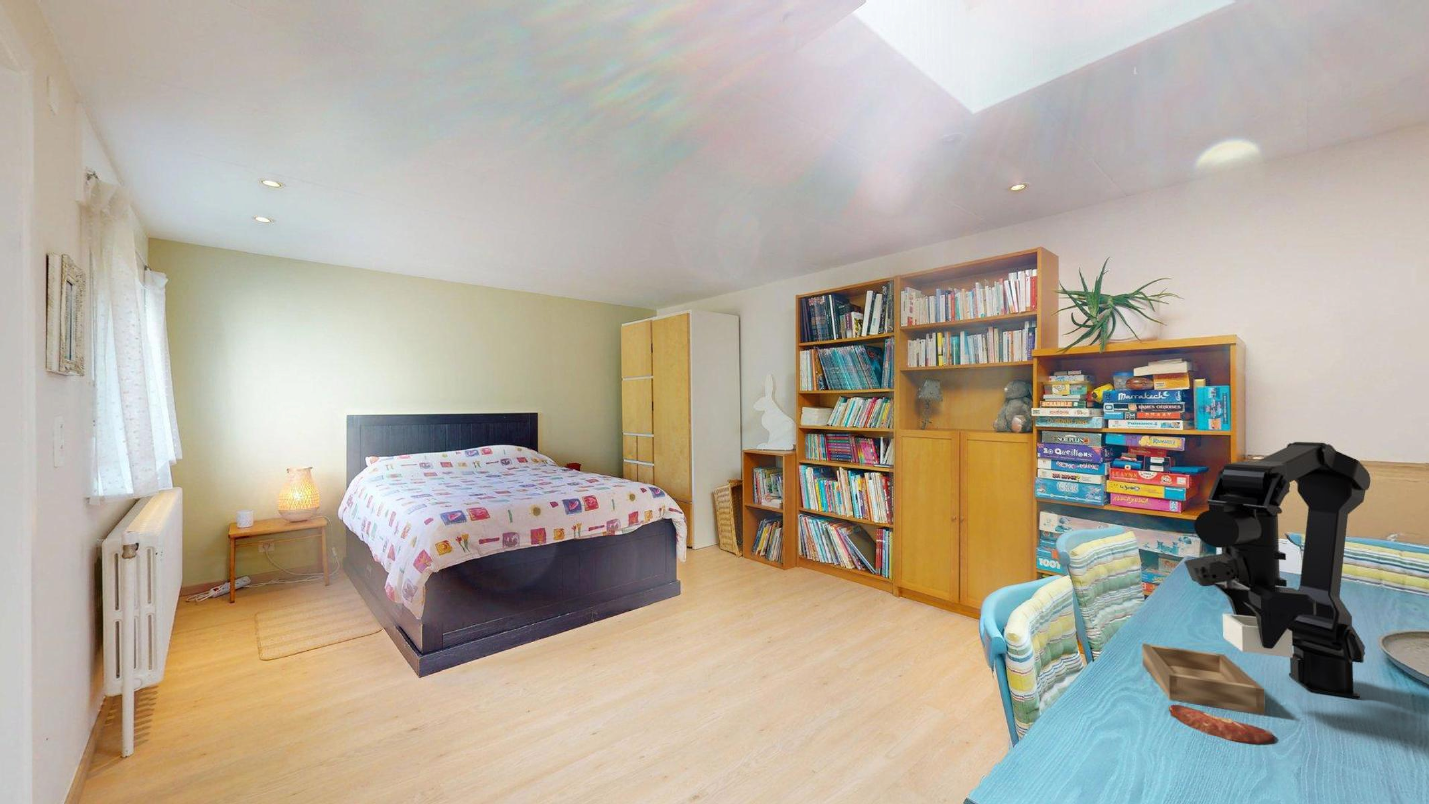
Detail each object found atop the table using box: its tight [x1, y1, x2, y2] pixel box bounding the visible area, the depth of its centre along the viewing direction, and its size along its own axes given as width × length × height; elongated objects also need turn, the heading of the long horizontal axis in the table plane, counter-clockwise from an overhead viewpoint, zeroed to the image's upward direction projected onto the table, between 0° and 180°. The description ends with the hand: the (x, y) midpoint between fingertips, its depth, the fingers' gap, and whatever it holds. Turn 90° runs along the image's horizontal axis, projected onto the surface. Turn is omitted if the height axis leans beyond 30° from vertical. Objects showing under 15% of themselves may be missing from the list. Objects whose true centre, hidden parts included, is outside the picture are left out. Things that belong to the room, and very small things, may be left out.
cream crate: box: [1222, 613, 1294, 659], centre depth 88 cm, size 6×6×4 cm
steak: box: [1168, 704, 1276, 746], centre depth 83 cm, size 8×2×12 cm
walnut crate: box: [1142, 643, 1266, 716], centre depth 95 cm, size 12×14×4 cm
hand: (1256, 640), depth 88 cm, fingers closed on cream crate, 6 cm apart
